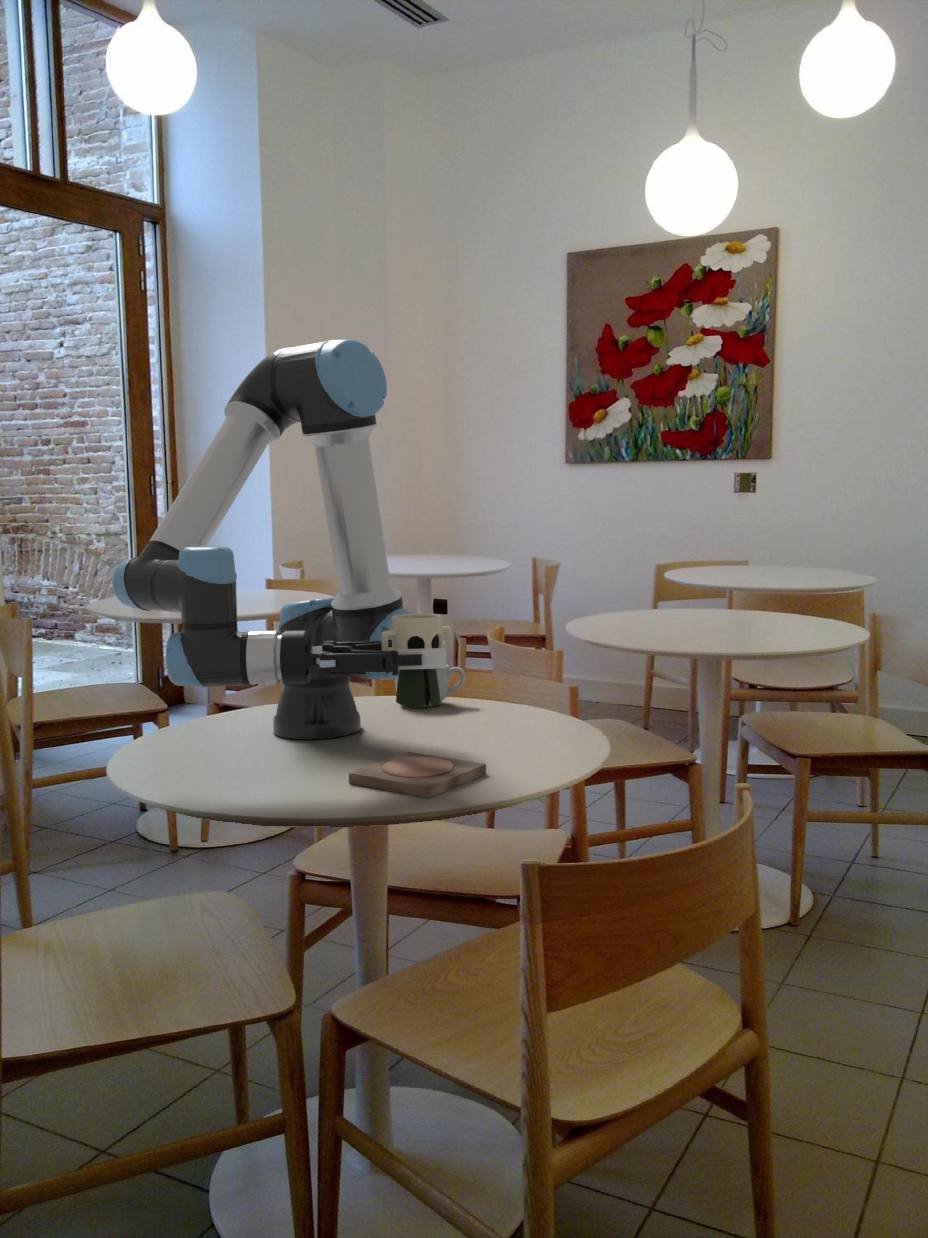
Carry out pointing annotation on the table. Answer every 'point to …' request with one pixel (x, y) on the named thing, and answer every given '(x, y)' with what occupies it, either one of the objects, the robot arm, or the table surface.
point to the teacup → (446, 681)
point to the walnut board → (417, 774)
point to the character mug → (417, 634)
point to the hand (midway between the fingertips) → (445, 654)
